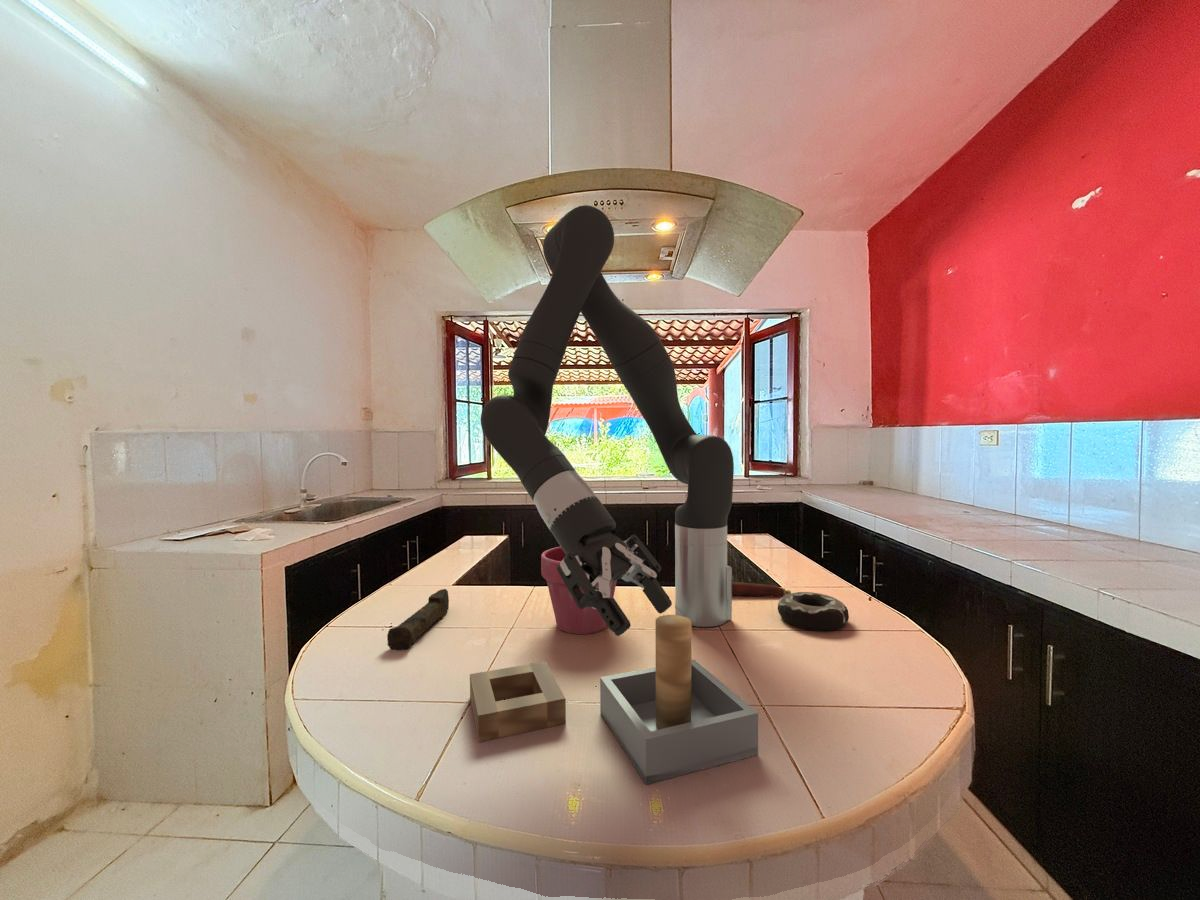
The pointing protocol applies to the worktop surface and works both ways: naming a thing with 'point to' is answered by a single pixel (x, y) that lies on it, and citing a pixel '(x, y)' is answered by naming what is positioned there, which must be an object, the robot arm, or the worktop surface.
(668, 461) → the robot arm
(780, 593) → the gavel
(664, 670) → the dowel
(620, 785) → the worktop surface
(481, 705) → the socket block
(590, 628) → the plant pot
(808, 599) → the donut
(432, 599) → the hand tool
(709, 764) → the tray
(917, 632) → the worktop surface
